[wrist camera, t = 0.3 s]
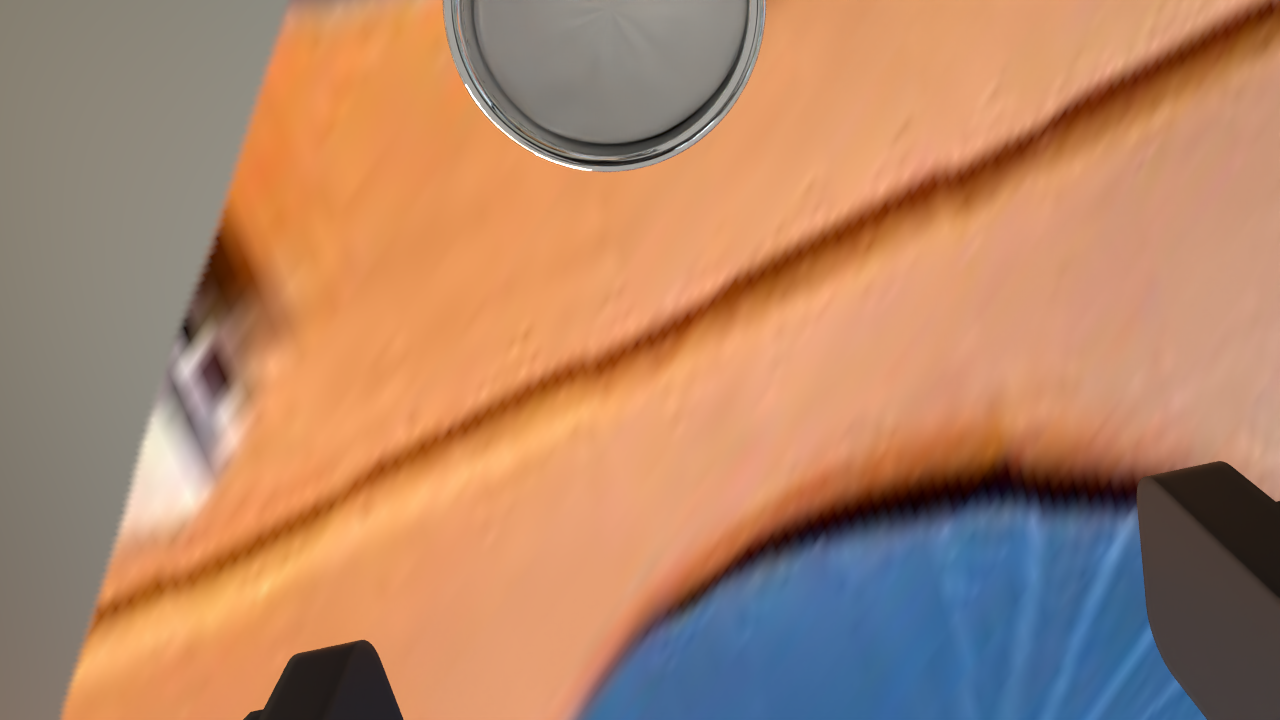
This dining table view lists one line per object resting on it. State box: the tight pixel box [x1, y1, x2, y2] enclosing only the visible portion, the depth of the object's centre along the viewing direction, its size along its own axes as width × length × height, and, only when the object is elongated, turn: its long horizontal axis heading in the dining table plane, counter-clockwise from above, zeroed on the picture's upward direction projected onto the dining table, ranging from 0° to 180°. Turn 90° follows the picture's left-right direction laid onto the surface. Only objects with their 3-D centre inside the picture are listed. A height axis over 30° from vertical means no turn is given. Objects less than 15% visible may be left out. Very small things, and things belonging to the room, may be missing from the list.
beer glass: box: [443, 0, 766, 172], centre depth 28 cm, size 7×7×15 cm
